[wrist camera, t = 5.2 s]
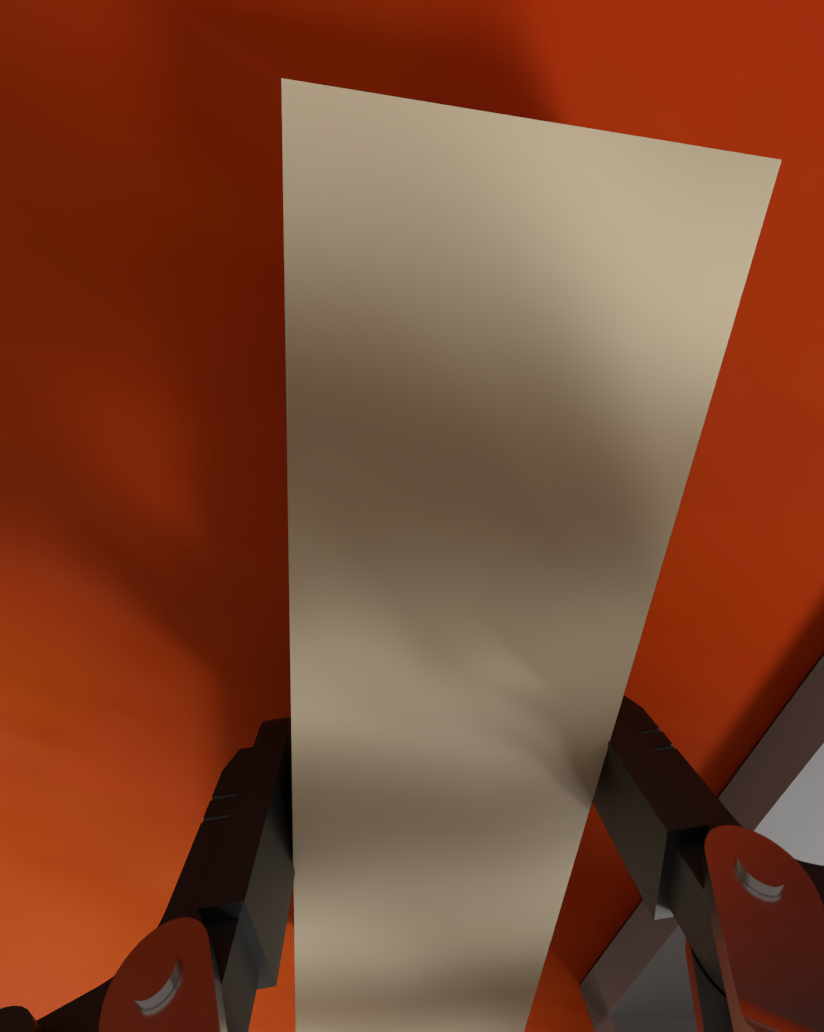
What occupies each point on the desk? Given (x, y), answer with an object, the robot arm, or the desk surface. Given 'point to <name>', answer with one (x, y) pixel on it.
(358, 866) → the shelf board
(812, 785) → the shelf frame
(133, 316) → the desk surface
